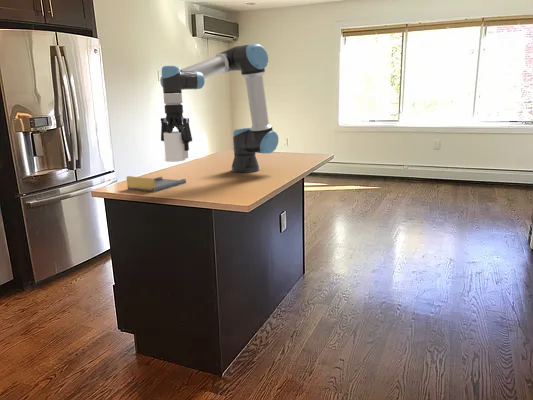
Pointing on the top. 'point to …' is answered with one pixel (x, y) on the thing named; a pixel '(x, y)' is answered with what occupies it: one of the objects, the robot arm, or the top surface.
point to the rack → (151, 183)
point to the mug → (173, 146)
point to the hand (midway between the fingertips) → (177, 157)
